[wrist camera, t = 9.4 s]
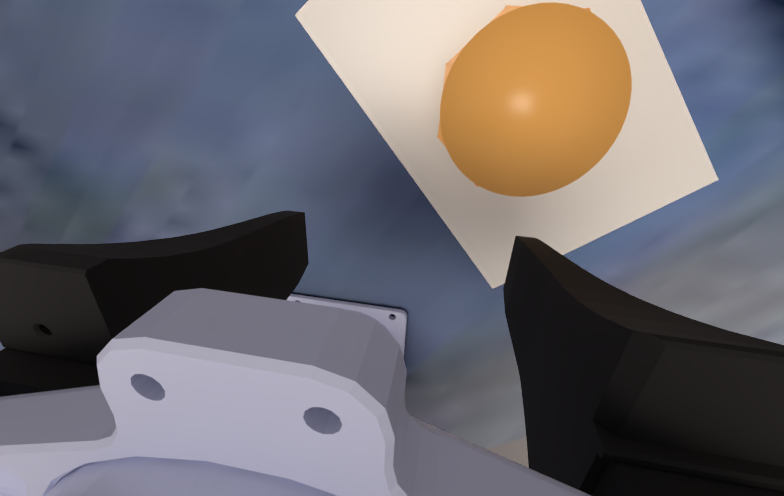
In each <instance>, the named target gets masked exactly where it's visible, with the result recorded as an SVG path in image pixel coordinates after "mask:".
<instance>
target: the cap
mask: <svg viewBox="0 0 784 496" xmlns="http://www.w3.org/2000/svg"><path fill="white" fill-rule="evenodd" d="M445 66H446V67H445V76H444V85H443V92H442V98H441V104H440V121H439V130H438V135H437V137H438V138H439V139H440V141H441V142H442V143H443V144H444V146H445V147H446V149H447V151H448V153H449V155H450V157H451V159H452V160H453V162H454V163H455V165H456V166H457V168H458V169H459V170H460V171H461V172H462V173H463V174H464V175H465V176H466V177H467V178H468V179H470V180H471V181H472V182H474V184H475V186H477V187H478V186H480V187H482V188H484V189H486V190H488V191H491V192H494V193H497V194H501V195H506V196H516V197H526V196H536V195H541V194H545V193H549V192H552V191H555V190H558V189H560V188H562V187H564V186H567V185H569V184H570V183H572V182H574V181H576V180H577V179H579V178H580V177H582V176H583V175H584V174H586V173H587V172H588V171H589V170H591V169H592V168H593V167H594V166H595V165H596V164H597V163H598V162H599V161H600V160H601V159H602V158H603V157H604V155H605V154H606V153H607V152H608V150H609V149H610V148H611V146H612V145H613V143H614V142H615V140H616V138H617V137H618V135H619V133H620V131H621V129H622V127H623V124H624V122H625V119H626V116H627V113H628V109H629V105H630V99H631V92H632V77H631V70H630V64H629V60H628V57H627V54H626V51H625V49H624V47H623V45H622V43H621V41H620V39H619V38H618V36H617V35H616V34H615V32H614V31H613V29H612V28H610V27H609V26H608V25H607V24H606V23H605V22H604V21H603V20H602V19H601V18H599V17H598V16H596V15H595V14H593V13H592V12H591V11H590V8H589V7H588V8H581V7H577V6H574V5H570V4H565V3H556V2H550V3H537V4H532V5H526V6H509V5H508V6H507V5H506V6H505V8H504V9H503V10H502V11H501V12H500V13H499V14H498V15H497V16H496V17H495V18H494V19H493V20H492V21H491V22H490V23H489V24H487V25H486V26H485V27H484V28H483V29H481V30H480V31H479V32H478V33H477V34H476V35H475V36H474V37H473V38H472V39H471V40H470V41H469V42H468V43H467V44H466V45H465V46H464V47H463V48H462V49H461V50H460V51H459V52H458V53H457V54H456V55H455V56H454V57H453V58H452V59H451V60H450V61H449V62H447V63H446V64H445Z"/></svg>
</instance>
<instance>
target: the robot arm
mask: <svg viewBox="0 0 784 496" xmlns="http://www.w3.org/2000/svg"><path fill="white" fill-rule="evenodd" d="M307 265H308V251H307V238H306V225H305V213H304V212H295V211H282V212H277V213H272V214H269V215H265V216H261V217H258V218H254V219H251V220H247V221H244V222H241V223H237V224H233V225H229V226H225V227H222V228H218V229H214V230H210V231H205V232H201V233H196V234H191V235H185V236H179V237H173V238H165V239H156V240H148V241H139V242H126V243H109V244H21V245H17V246H15V247H13V248H10V249H8V250H5V251H3V252H0V342H1V343H2V345H3V347H6V348H4V349H3V350H1V351H0V496H784V345H780V344H777V343H773V342H769V341H765V340H761V339H758V338H754V337H750V336H746V335H742V334H739V333H735V332H731V331H728V330H724V329H721V328H718V327H715V326H711V325H708V324H705V323H702V322H699V321H696V320H693V319H690V318H687V317H684V316H681V315H679V314H676V313H673V312H670V311H668V310H665V309H663V308H660V307H658V306H655V305H653V304H650V303H648V302H645V301H643V300H641V299H639V298H636V297H634V296H632V295H630V294H628V293H626V292H624V291H622V290H620V289H618V288H616V287H614V286H612V285H610V284H608V283H606V282H604V281H602V280H601V279H599V278H597V277H596V276H594V275H592V274H591V273H589V272H587V271H586V270H584V269H582V268H581V267H579V266H578V265H576V264H575V263H573V262H572V261H570V260H569V259H567V258H566V257H564V256H563V255H561V254H560V253H559V252H557V251H556V250H554V249H553V248H551V247H550V246H549V245H547V244H546V243H544V242H542V241H541V240H539V239H537V238H533V237H524V236H515V240H514V245H513V249H512V253H511V258H510V262H509V267H508V271H507V275H506V280H505V284H504V304H505V314H506V318H507V323H508V327H509V331H510V336H511V340H512V344H513V348H514V352H515V357H516V361H517V365H518V369H519V375H520V380H521V388H522V397H523V406H524V415H525V426H526V436H527V448H528V461H529V468H527V467H525V466H523V465H521V464H518V463H516V462H514V461H511V460H509V459H507V458H505V457H502V456H500V455H498V454H495V453H493V452H491V451H489V450H487V449H484V448H482V447H480V446H477V445H475V444H473V443H471V442H468V441H466V440H464V439H462V438H459V437H457V436H455V435H452V434H450V433H448V432H446V431H443V430H441V429H439V428H437V427H434V426H432V425H430V424H427V423H425V422H423V421H421V420H418V419H416V418H414V417H412V416H410V415H409V414H408V412H407V410H406V406H405V387H406V375H407V369H406V366H405V362H404V348H405V336H406V323H407V314H406V312H405V311H404V310H401V309H394V308H387V307H380V306H373V305H366V304H359V303H352V302H345V301H338V300H331V299H324V298H317V297H310V296H303V295H296V294H291V293H292V292H293V290H294V289H295V288H296V286H297V285H298V283H299V281H300V279H301V277H302V276H303V274H304V271H305V269H306V267H307ZM297 300H298V301H300V302H297ZM390 314H394V315H395V317H393V316H391V315H390Z"/></svg>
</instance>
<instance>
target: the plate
mask: <svg viewBox="0 0 784 496" xmlns="http://www.w3.org/2000/svg"><path fill="white" fill-rule="evenodd" d="M550 2H556V3H565V4H570V5H574V6H577V7H581V8H588V7H589V8H590V11H591V12H592V13H593V14H595V15H596V16H598V17H599V18H601V19H602V20H603V21H604V22H605V23H606V24H607V25H608V26H609V27H610V28H612V29H613V31H614V32H615V34H616V35H617V36H618V38H619V39H620V41H621V43H622V45H623V47H624V49H625V51H626V54H627V57H628V60H629V64H630V70H631V77H632V92H631V99H630V105H629V109H628V113H627V116H626V119H625V122H624V124H623V127H622V129H621V131H620V133H619V135H618V137H617V138H616V140H615V142H614V143H613V145H612V146H611V148H610V149H609V150H608V152H607V153H606V154H605V155H604V157H603V158H602V159H601V160H600V161H599V162H598V163H597V164H596V165H595V166H594V167H593V168H592V169H591V170H589V171H588V172H587V173H586V174H584V175H583V176H582V177H580V178H579V179H577V180H576V181H574V182H572V183H570V184H569V185H567V186H564V187H562V188H560V189H558V190H555V191H552V192H549V193H545V194H541V195H536V196H526V197H516V196H506V195H501V194H497V193H494V192H491V191H488V190H486V189H484V188H482V187H480V186H478V187H477V186H475V184H474V182H472V181H471V180H470V179H468V178H467V177H466V176H465V175H464V174H463V173H462V172H461V171H460V170H459V169H458V168H457V166H456V165H455V163H454V162H453V160H452V159H451V157H450V155H449V153H448V151H447V149H446V147H445V146H444V144H443V143H442V142H441V141H440V139H439V138H438V137H437V135H438V130H439V121H440V104H441V98H442V92H443V85H444V76H445V67H446V66H445V64H446V63H447V62H449V61H450V60H451V59H452V58H453V57H454V56H455V55H456V54H457V53H458V52H459V51H460V50H461V49H462V48H463V47H464V46H465V45H466V44H467V43H468V42H469V41H470V40H471V39H472V38H473V37H474V36H475V35H476V34H477V33H478V32H479V31H480V30H481V29H483V28H484V27H485V26H486V25H487V24H489V23H490V22H491V21H492V20H493V19H494V18H495V17H496V16H497V15H498V14H499V13H500V12H501V11H502V10H503V9H504V8H505V6H506V5H507V6H508V5H509V6H526V5H532V4H537V3H550ZM295 16H296V17H297V19H298V20H299V22H300V23H301V24H302V26H303V27H304V28H305V30H306V31H307V33H308V34H309V35H310V37H311V38H312V40H313V41H314V42H315V44H316V45H317V46H318V48H319V49H320V51H321V52H322V53H323V55H324V56H325V58H326V59H327V60H328V62H329V63H330V64H331V66H332V67H333V69H334V70H335V71H336V73H337V74H338V76H339V77H340V78H341V80H342V81H343V82H344V84H345V85H346V87H347V88H348V89H349V91H350V92H351V94H352V95H353V96H354V98H355V99H356V101H357V102H358V103H359V105H360V106H361V107H362V109H363V110H364V112H365V113H366V114H367V116H368V117H369V119H370V120H371V121H372V123H373V124H374V125H375V127H376V128H377V130H378V131H379V132H380V134H381V135H382V137H383V138H384V139H385V141H386V142H387V143H388V145H389V146H390V148H391V149H392V150H393V152H394V153H395V155H396V156H397V157H398V159H399V160H400V161H401V163H402V164H403V166H404V167H405V168H406V170H407V171H408V173H409V174H410V175H411V177H412V178H413V179H414V181H415V182H416V184H417V185H418V186H419V188H420V189H421V191H422V192H423V193H424V195H425V196H426V197H427V199H428V200H429V202H430V203H431V204H432V206H433V207H434V209H435V210H436V211H437V213H438V214H439V215H440V217H441V218H442V220H443V221H444V222H445V224H446V225H447V227H448V228H449V229H450V231H451V232H452V233H453V235H454V236H455V238H456V239H457V240H458V242H459V243H460V245H461V246H462V247H463V249H464V250H465V251H466V253H467V254H468V256H469V257H470V258H471V260H472V261H473V263H474V264H475V265H476V267H477V268H478V269H479V271H480V272H481V274H482V275H483V276H484V278H485V279H486V281H487V282H488V283H489V285H490V286H491V287H492V289H494V288H496V287H498V286H500V285H502V284H504V283H505V280H506V275H507V271H508V267H509V262H510V258H511V253H512V249H513V245H514V240H515V236H524V237H533V238H537V239H539V240H541V241H542V242H544V243H546V244H547V245H549V246H550V247H551V248H553V249H554V250H556V251H557V252H559V253H560V254H561V255H564V254H566V253H568V252H570V251H572V250H574V249H576V248H578V247H580V246H582V245H585V244H587V243H589V242H591V241H593V240H595V239H597V238H599V237H601V236H603V235H605V234H607V233H609V232H611V231H613V230H616V229H618V228H620V227H622V226H624V225H626V224H628V223H630V222H632V221H634V220H636V219H638V218H640V217H642V216H644V215H647V214H649V213H651V212H653V211H655V210H657V209H659V208H661V207H663V206H665V205H667V204H669V203H671V202H673V201H675V200H678V199H680V198H682V197H684V196H686V195H688V194H690V193H692V192H694V191H696V190H698V189H700V188H702V187H704V186H706V185H709V184H711V183H713V182H715V181H717V180H718V178H717V175H716V173H715V171H714V169H713V166H712V164H711V162H710V159H709V157H708V155H707V152H706V150H705V148H704V145H703V143H702V141H701V139H700V136H699V134H698V132H697V129H696V127H695V125H694V122H693V120H692V118H691V116H690V113H689V111H688V109H687V106H686V104H685V102H684V99H683V97H682V95H681V93H680V90H679V88H678V86H677V83H676V81H675V79H674V76H673V74H672V72H671V69H670V67H669V65H668V63H667V60H666V58H665V56H664V53H663V51H662V49H661V46H660V44H659V42H658V40H657V37H656V35H655V33H654V30H653V28H652V26H651V23H650V21H649V19H648V17H647V14H646V12H645V10H644V7H643V5H642V3H641V0H308V1H307V2H306V4H305V5H304V6H303V7H302V8H301V9H300V10H299V11H298V12H297V14H296V15H295Z"/></svg>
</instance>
